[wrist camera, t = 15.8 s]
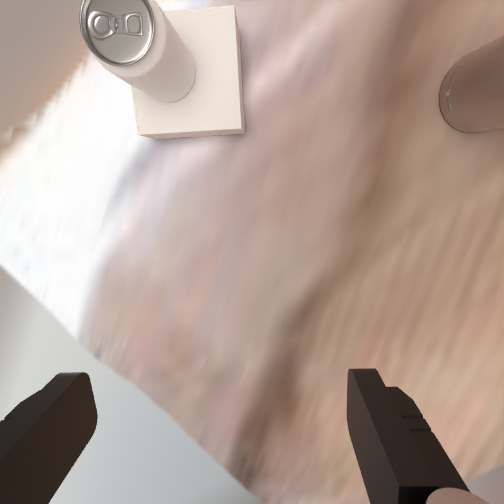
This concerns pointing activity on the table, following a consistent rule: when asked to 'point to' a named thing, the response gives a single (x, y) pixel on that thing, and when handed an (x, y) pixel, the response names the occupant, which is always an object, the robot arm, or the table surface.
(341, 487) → the table surface
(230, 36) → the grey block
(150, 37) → the can
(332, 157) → the table surface
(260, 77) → the table surface
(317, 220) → the table surface
